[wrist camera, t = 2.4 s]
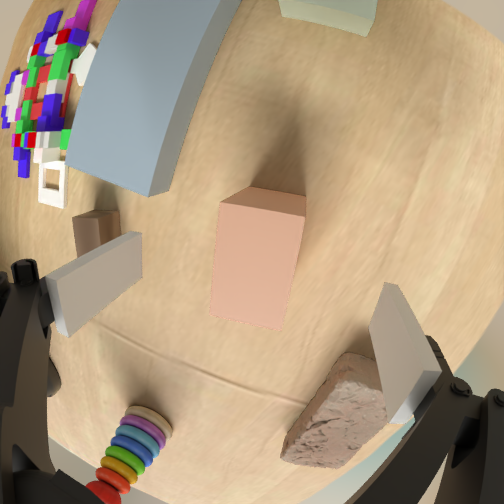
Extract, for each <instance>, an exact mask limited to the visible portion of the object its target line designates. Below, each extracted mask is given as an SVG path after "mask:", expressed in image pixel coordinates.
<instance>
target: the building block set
mask: <svg viewBox="0 0 504 504" xmlns="http://www.w3.org/2000/svg"><path fill="white" fill-rule="evenodd" d="M96 2H97V0H83V1H81V2H80V4H79V7H78V9H77V12H76V15H75V17H73V18H70V19H67V20H66V23H65V25H64V28H63V30H61V31H59V32H58V34H56V35H53V33H56V30H57V27H58V24H59V22H60V19H61V16H62V14H63V11H58V12H56V13H54V14H51V15H49V16H48V19H47V21H46V24H45V27H44V29H43V31H42V32H40V33H38V34H37V36H36V39H35V42H34V45H33V46H30V49H29V53H28V56H27V62H28V67H27V69H30V70H27V71H24V72H23V73H22V74H19V72H20V71H19V70H16V71H14V72H12V73H11V77H10V82H9V84H7V85H6V90H5V95H7V97H6V102H5V106H2V113H1V117H3V122H2V129H3V128H10V122H16V121H17V124H16V133H15V134H13V135H12V146H11V147H14V156H13V160H18V161H19V163H18V177H23V178H29V171H30V154H31V152H30V149H34V162H33V163H40V164H39V192H38V202H40V203H44V204H48V205H52V206H55V207H59V208H62V209H64V208H67V187H68V169H69V166H67V165H64V163H65V161H61V160H60V151H61V149H64V150H67V147H68V143H69V138H70V134H71V129H63V126H64V119H65V113H66V107H67V101H68V96H69V91H70V86H71V82H72V77H73V74H75V75H76V78H77V82H78V85H79V86H83V85H84V83H85V80H86V77H87V74H88V72H89V69H90V66H91V63H92V61H93V58H94V56H95V53H96V50H97V48H96V47H95V46H94V45H93V44H91V43H89V45H88V46H87V47H86V48H85V50H84V51H83V53H82V54H81V55H80V57H79V58H77V57H78V54H79V50H80V47H81V46H85V45H86V42H87V39H88V36H89V32H87V31H86V29H87V26H88V23H89V20H90V17H91V15H92V12H93V9H94V7H95V4H96ZM52 36H53V37H52ZM51 55H54V57H53V60H52V64H51V65H47V66H44V63H45V60H46V57H48V56H51ZM43 82H48V86H47V90H46V95H44V100H43V102H40V103H36V99H37V94H38V89H39V84H40V83H43ZM25 85H26V90H25V95H24V100H23V106H22V108H20V107H21V101H22V96H23V91H24V86H25ZM34 120H38V122H37V129H36V131H32V129H33V121H34ZM47 168H48V169H55V170H60V179H59V190H56V189H51V188H46V172H47Z"/></svg>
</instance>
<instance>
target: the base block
mask: <svg viewBox="0 0 504 504" xmlns="http://www.w3.org/2000/svg"><path fill="white" fill-rule="evenodd" d="M241 1H242V0H120V1H119V3H118V5H117V7H116V9H115V11H114V13H113V15H112V17H111V19H110V21H109V23H108V25H107V27H106V30H105V32H104V34H103V36H102V39H101V41H100V43H99V46H98V48H97V50H96V53H95V56H94V58H93V61H92V63H91V66H90V69H89V72H88V74H87V77H86V80H85V83H84V86H83V89H82V93H81V96H80V99H79V103H78V106H77V110H76V113H75V117H74V121H73V125H72V129H71V134H70V138H69V143H68V147H67V152H66V158H65V163H64V165H67V166H69V167H72V168H74V169H77V170H80V171H82V172H85V173H87V174H90V175H92V176H95V177H98V178H100V179H103V180H105V181H108V182H110V183H113V184H115V185H118V186H121V187H123V188H126V189H128V190H131V191H133V192H136V193H138V194H141V195H143V196H146V197H150V196H154V195H157V194H160V193H164V192H167V191H169V188H170V185H171V181H172V178H173V174H174V171H175V167H176V164H177V161H178V158H179V154H180V151H181V148H182V145H183V142H184V139H185V136H186V133H187V130H188V127H189V124H190V121H191V118H192V115H193V113H194V110H195V107H196V104H197V102H198V99H199V96H200V94H201V91H202V88H203V86H204V83H205V81H206V78H207V76H208V73H209V71H210V68H211V66H212V63H213V61H214V59H215V56H216V54H217V52H218V49H219V47H220V45H221V43H222V40H223V38H224V36H225V34H226V32H227V29H228V27H229V25H230V23H231V21H232V19H233V17H234V15H235V13H236V11H237V9H238V7H239V5H240V3H241Z"/></svg>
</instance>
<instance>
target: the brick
mask: <svg viewBox="0 0 504 504" xmlns="http://www.w3.org/2000/svg"><path fill="white" fill-rule="evenodd" d="M387 423H388V417H387V412H386V406H385V400H384V395H383V390H382V385H381V380H380V375H379V371H378V366H377V362H376V361H374V360H371V359H370V358H366V357H365V356H363V355H360V354H355V353H351V352H350V353H343V354H342V356H340V357H339V359H338V361H337V362H336V363H335V364H334V366H333V367H332V369H331V371H330V373H329V375H328V377H327V381H325V383H324V384H323V385H322V386H321V387H320V388H319V389H318V391H317V393H316V395H315V397H314V398H313V399H312V400H311V401H310V403H309V404H308V406H307V407H306V409H305V411H303V413H302V414H301V415H300V417H299V418H298V419H297V421H296V422H295V424H294V425H293V427H292V428H291V430H290V431H289V432H288V433H287V435H286V437H285V439H284V443H283V448H282V452H281V454H280V458H281V459H282V460H284V461H286V462H289V463H294V464H296V465H303V466H310V467H323V468H326V467H328V468H335V469H339V468H340V467H341V466H344V465H345V464H346V463H347V462H348V461H349V460H350V459H351V458H352V457H353V456H354V455H355V454H356V452H357V451H358V450H360V448H361V447H362V445H363V444H365V443H367V442H368V441H369V440H370V439H371V438H372V437H373V436H375V435H376V434H377V433H378V432H379V431H380V430H381V429H382V428H383V427H384V426H385V425H386V424H387Z"/></svg>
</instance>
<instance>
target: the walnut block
mask: <svg viewBox="0 0 504 504" xmlns="http://www.w3.org/2000/svg"><path fill="white" fill-rule="evenodd" d="M72 221H73V229H74V237H75V244H76V251H77V257H78V258H79V257H80V256H82V255H84V254H86V253H88V252H90V251H92V250H94V249H96V248H98V247H100V246H101V245H103V244H105V243H107V242H109V241H111V240H113V239H115V238H117V237H119V236H121V228H120V216H119V211H110V210H92V211H89V212H86V213H84V214H81V215H78V216H75V217H72Z"/></svg>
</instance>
